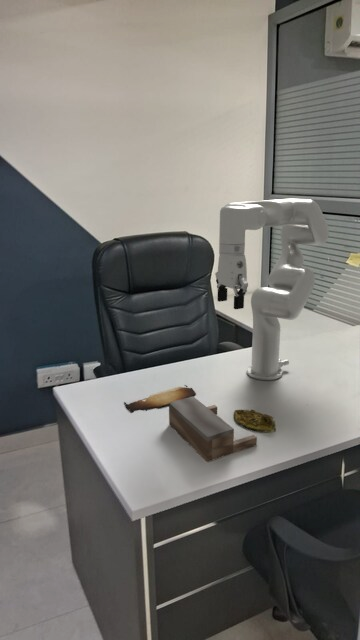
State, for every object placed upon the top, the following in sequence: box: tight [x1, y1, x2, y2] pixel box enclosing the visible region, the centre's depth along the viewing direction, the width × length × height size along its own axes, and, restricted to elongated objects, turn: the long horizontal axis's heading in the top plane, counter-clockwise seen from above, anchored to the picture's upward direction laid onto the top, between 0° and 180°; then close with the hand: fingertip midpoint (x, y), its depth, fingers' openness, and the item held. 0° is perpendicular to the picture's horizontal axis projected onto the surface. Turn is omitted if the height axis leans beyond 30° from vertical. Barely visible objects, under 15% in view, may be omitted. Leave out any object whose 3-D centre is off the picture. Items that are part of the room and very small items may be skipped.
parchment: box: [124, 384, 197, 413], centre depth 155 cm, size 25×10×1 cm, turn 122°
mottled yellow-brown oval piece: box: [233, 409, 277, 434], centre depth 140 cm, size 9×5×15 cm
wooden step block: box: [168, 395, 258, 463], centre depth 133 cm, size 16×21×7 cm
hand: (230, 304), depth 147 cm, fingers open, 9 cm apart
